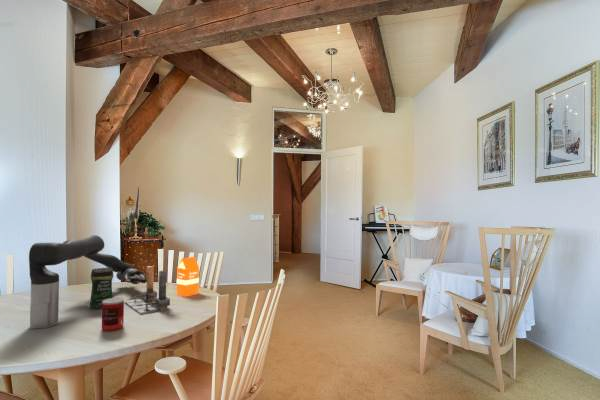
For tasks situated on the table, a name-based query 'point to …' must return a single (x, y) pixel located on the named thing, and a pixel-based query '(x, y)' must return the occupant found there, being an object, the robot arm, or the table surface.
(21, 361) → the table surface
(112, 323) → the canned food
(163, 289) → the grey metal fixture
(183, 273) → the orange juice
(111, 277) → the coffee jar
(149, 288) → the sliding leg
